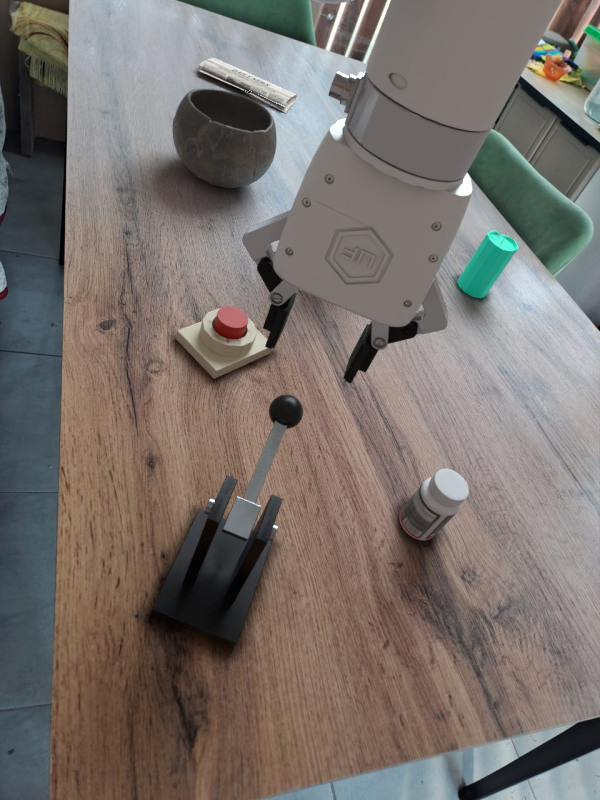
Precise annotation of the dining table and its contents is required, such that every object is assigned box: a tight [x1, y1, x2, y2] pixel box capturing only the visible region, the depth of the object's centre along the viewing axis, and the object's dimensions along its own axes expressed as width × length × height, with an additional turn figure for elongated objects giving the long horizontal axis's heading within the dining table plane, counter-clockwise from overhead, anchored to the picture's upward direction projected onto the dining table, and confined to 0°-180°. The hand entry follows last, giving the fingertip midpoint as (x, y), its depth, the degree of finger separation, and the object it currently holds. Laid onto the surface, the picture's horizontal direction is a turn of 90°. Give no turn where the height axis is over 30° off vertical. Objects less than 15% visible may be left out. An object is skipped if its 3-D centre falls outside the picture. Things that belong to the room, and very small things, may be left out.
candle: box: [456, 229, 519, 299], centre depth 102 cm, size 6×6×12 cm
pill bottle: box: [398, 468, 470, 541], centre depth 63 cm, size 5×5×8 cm
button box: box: [175, 307, 274, 380], centre depth 74 cm, size 10×8×4 cm
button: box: [214, 305, 249, 339], centre depth 72 cm, size 4×4×2 cm
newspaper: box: [198, 57, 298, 114], centre depth 135 cm, size 23×12×2 cm, turn 73°
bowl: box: [172, 88, 278, 189], centre depth 99 cm, size 18×18×13 cm
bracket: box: [150, 475, 284, 649], centre depth 49 cm, size 11×8×13 cm
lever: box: [222, 394, 304, 541], centre depth 48 cm, size 13×3×3 cm, turn 164°
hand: (312, 353), depth 45 cm, fingers open, 5 cm apart
